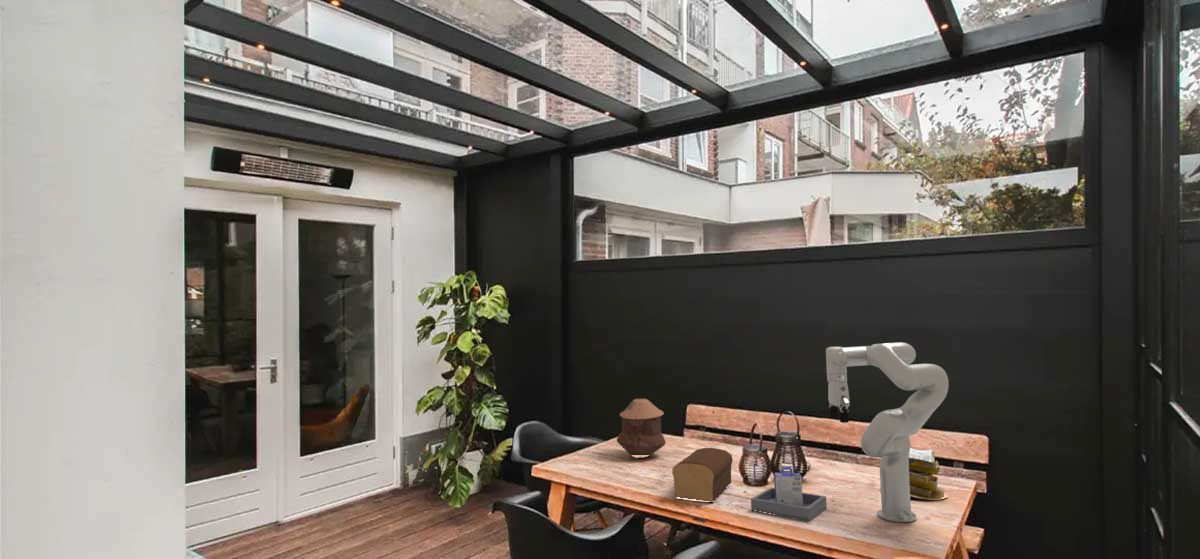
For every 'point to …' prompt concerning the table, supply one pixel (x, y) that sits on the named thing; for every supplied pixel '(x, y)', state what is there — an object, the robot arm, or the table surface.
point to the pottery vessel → (641, 428)
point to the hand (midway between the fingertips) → (839, 420)
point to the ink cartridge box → (788, 487)
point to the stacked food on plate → (924, 475)
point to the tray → (806, 513)
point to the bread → (703, 474)
